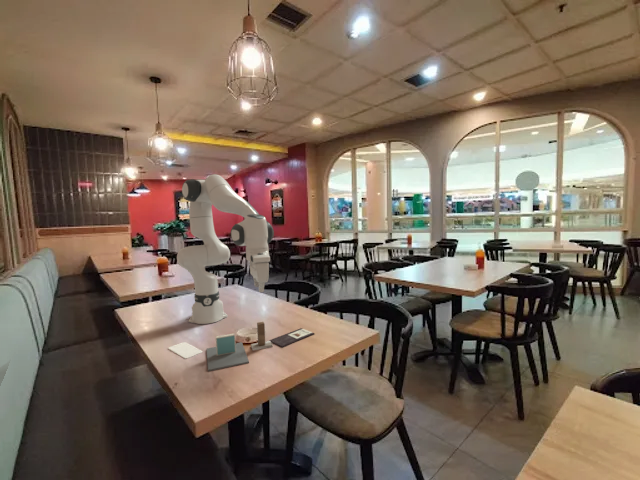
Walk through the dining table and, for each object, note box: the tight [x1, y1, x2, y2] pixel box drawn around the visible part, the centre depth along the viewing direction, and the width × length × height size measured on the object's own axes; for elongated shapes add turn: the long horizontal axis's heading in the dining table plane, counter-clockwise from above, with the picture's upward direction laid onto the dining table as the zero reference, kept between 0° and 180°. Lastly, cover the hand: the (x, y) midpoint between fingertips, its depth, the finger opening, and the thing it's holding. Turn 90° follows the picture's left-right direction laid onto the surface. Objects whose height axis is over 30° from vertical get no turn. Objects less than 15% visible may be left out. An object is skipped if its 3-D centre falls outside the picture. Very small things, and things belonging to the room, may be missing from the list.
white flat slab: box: [168, 341, 203, 360], centre depth 122 cm, size 7×1×15 cm
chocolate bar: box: [268, 327, 315, 349], centre depth 131 cm, size 9×1×18 cm
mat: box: [206, 341, 250, 372], centre depth 116 cm, size 18×14×1 cm
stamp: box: [250, 321, 274, 352], centre depth 123 cm, size 4×8×10 cm, turn 112°
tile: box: [215, 333, 236, 356], centre depth 117 cm, size 2×7×7 cm, turn 112°
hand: (259, 289), depth 121 cm, fingers open, 8 cm apart
